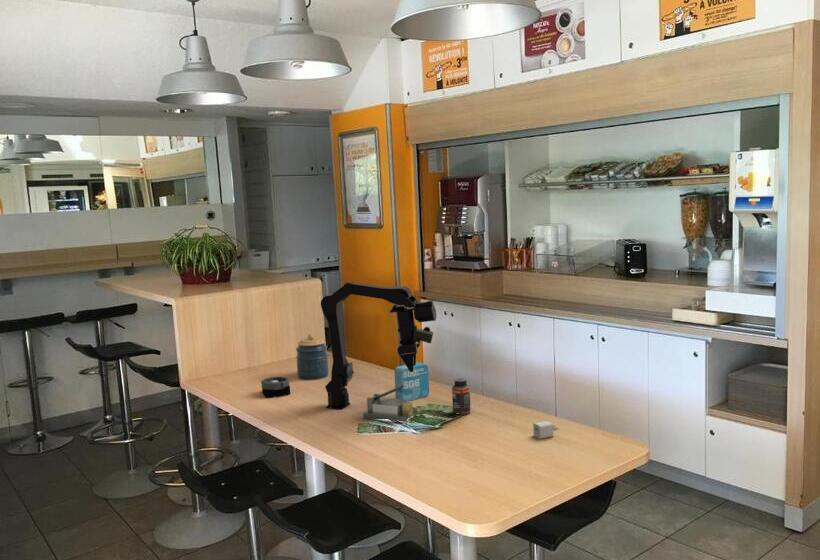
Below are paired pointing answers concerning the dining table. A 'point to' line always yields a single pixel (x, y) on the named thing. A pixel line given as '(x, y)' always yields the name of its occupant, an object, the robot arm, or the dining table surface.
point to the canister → (312, 358)
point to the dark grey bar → (387, 393)
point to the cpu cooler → (275, 387)
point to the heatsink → (389, 409)
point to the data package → (412, 382)
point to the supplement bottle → (461, 397)
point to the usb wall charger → (543, 429)
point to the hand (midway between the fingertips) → (412, 368)
